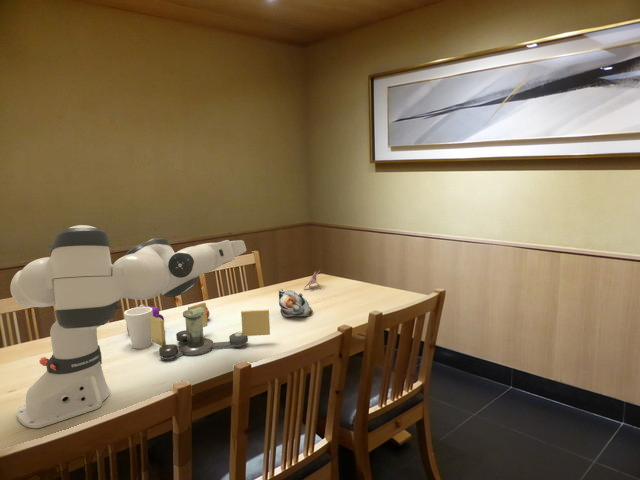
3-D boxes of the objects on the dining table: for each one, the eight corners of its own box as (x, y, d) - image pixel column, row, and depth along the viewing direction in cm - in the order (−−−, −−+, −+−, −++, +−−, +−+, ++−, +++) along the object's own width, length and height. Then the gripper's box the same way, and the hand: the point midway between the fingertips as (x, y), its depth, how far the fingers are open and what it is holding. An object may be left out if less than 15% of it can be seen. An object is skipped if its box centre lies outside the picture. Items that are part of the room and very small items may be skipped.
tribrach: (184, 372, 143) (180, 326, 141) (145, 353, 158) (141, 312, 156) (247, 345, 163) (245, 304, 160) (208, 330, 178) (205, 293, 175)
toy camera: (156, 338, 171) (153, 313, 170) (123, 337, 174) (120, 311, 172) (171, 328, 182) (168, 304, 180) (140, 326, 184) (137, 302, 183)
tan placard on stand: (270, 342, 160) (268, 312, 158) (228, 345, 159) (226, 315, 157) (270, 336, 166) (268, 307, 164) (230, 338, 165) (228, 309, 163)
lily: (320, 286, 239) (310, 270, 239) (333, 281, 230) (323, 265, 229) (304, 298, 232) (295, 282, 231) (318, 293, 223) (307, 277, 222)
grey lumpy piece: (318, 314, 192) (311, 291, 184) (295, 330, 188) (287, 307, 179) (298, 297, 203) (291, 274, 194) (276, 312, 198) (267, 289, 190)
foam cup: (126, 352, 160) (122, 316, 158) (129, 342, 169) (125, 308, 166) (154, 348, 162) (151, 313, 160) (156, 338, 171) (153, 305, 169)
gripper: (180, 276, 143) (201, 270, 157) (238, 258, 139) (254, 252, 152) (174, 257, 143) (195, 252, 157) (231, 238, 138) (248, 234, 152)
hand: (224, 252), depth 154 cm, fingers closed
